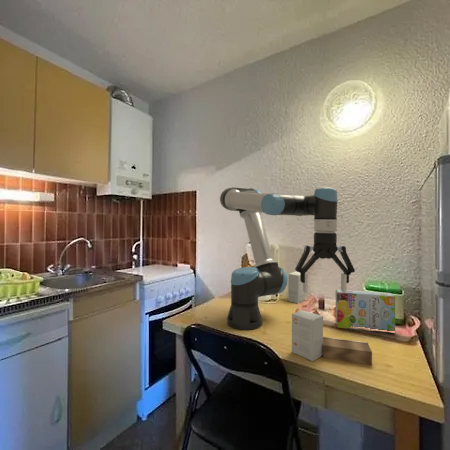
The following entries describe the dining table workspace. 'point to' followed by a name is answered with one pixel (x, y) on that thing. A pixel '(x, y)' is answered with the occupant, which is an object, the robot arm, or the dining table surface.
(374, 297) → the snack box
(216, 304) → the dining table surface
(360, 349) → the walnut step
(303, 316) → the small box
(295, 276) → the skincare box
